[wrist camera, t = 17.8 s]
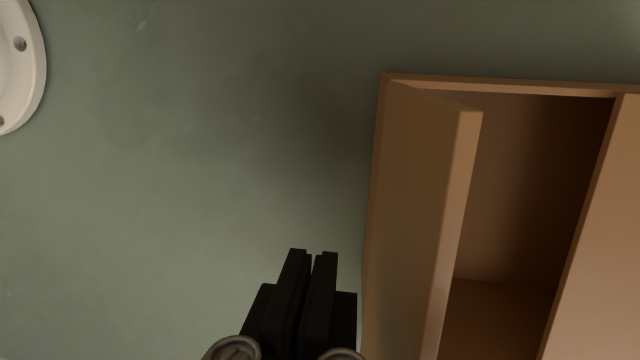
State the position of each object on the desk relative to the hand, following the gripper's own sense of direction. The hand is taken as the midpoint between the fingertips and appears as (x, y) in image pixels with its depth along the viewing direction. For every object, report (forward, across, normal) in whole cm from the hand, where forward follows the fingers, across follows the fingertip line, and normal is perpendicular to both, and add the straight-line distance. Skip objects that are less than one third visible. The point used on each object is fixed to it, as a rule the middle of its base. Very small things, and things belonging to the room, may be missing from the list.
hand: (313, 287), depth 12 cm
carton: (+12, -10, 0) cm, 15 cm away
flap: (-1, -3, 0) cm, 3 cm away
